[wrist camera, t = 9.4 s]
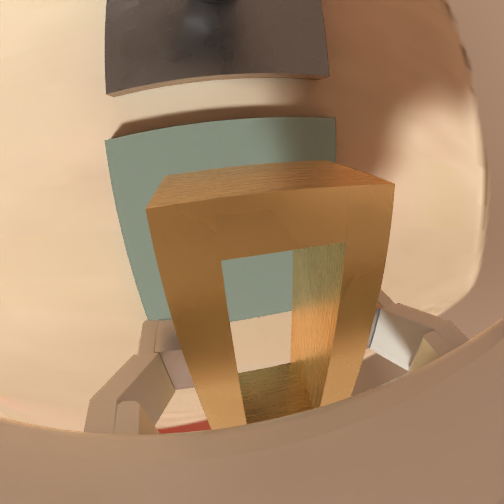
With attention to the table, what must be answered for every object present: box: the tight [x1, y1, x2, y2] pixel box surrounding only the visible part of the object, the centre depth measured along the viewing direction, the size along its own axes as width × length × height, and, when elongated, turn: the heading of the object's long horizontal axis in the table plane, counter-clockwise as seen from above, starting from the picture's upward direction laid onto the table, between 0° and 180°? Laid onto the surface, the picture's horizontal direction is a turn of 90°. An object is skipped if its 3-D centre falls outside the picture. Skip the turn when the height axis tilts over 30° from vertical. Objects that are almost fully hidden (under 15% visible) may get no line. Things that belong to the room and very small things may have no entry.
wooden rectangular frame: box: [146, 160, 395, 430], centre depth 9 cm, size 10×5×4 cm, turn 3°
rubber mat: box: [105, 117, 336, 322], centre depth 17 cm, size 13×13×1 cm
